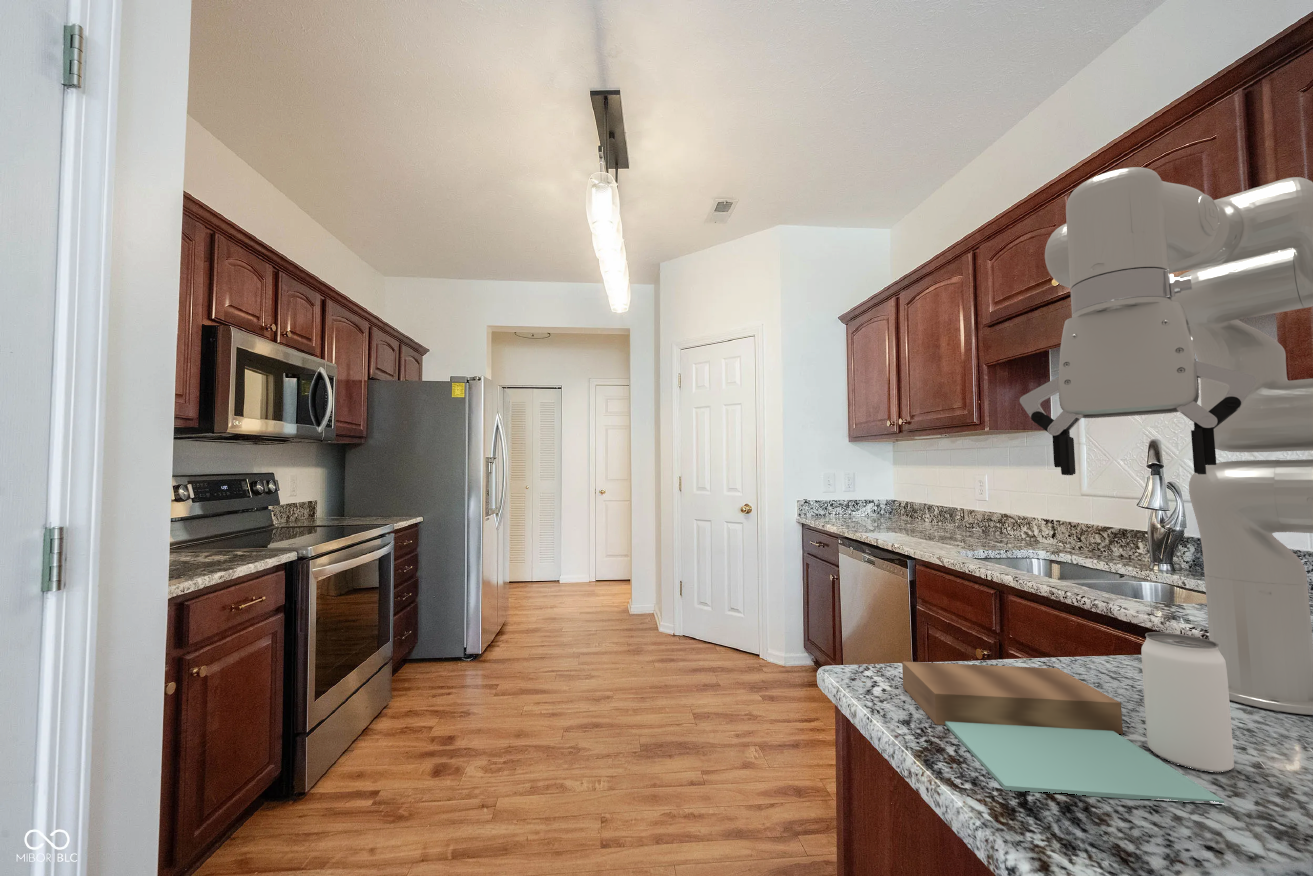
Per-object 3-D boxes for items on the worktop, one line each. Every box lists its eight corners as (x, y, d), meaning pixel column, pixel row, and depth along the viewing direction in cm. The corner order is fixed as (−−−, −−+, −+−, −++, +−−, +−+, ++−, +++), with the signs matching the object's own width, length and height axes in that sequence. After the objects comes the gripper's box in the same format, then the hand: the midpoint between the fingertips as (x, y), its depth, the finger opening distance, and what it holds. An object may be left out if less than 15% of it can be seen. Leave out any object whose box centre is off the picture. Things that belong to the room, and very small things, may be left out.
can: (1180, 742, 61) (1172, 630, 62) (1253, 772, 54) (1243, 646, 55) (1131, 746, 59) (1123, 632, 60) (1199, 777, 53) (1190, 649, 54)
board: (1059, 695, 74) (1057, 668, 74) (1123, 735, 62) (1120, 702, 62) (903, 687, 76) (902, 661, 77) (935, 724, 65) (934, 693, 65)
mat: (1113, 734, 62) (1113, 730, 62) (1224, 805, 48) (1224, 800, 48) (945, 725, 64) (944, 721, 64) (1005, 790, 51) (1005, 785, 51)
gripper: (1246, 288, 51) (1262, 474, 49) (1025, 326, 63) (1033, 476, 62) (1248, 265, 46) (1266, 472, 44) (1007, 311, 58) (1015, 474, 56)
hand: (1130, 474), depth 53 cm, fingers open, 9 cm apart
